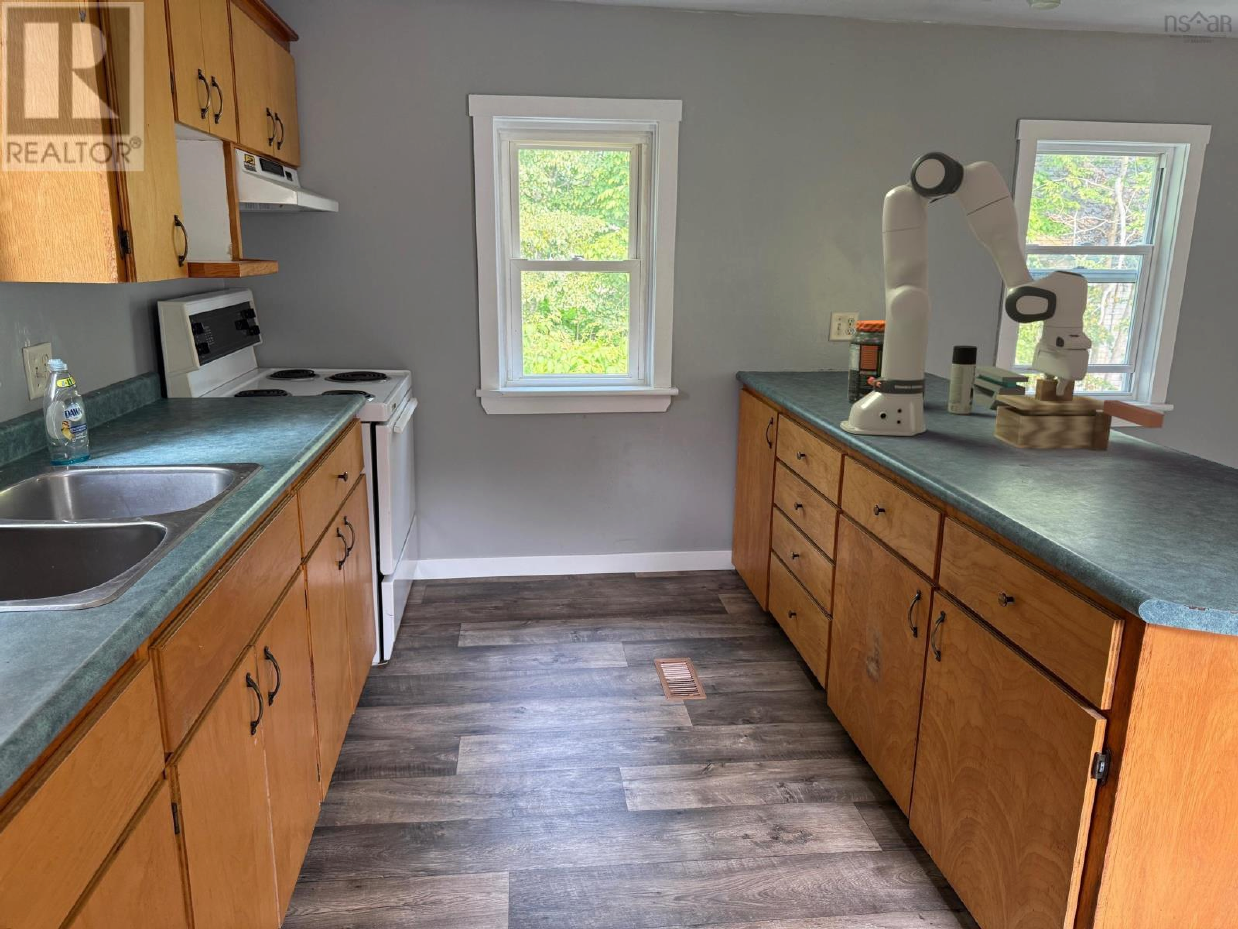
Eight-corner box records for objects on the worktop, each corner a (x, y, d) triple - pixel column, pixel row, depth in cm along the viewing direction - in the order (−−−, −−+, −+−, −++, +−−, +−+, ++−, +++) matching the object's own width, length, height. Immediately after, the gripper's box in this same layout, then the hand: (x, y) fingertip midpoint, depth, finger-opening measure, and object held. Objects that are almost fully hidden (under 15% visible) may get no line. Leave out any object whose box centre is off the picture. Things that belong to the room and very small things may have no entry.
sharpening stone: (1024, 413, 255) (1028, 377, 252) (998, 413, 255) (1002, 377, 252) (990, 399, 279) (993, 366, 276) (966, 399, 279) (969, 366, 276)
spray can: (973, 415, 252) (980, 347, 247) (949, 414, 253) (955, 347, 248) (969, 411, 258) (975, 345, 253) (945, 410, 259) (951, 344, 254)
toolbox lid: (1020, 415, 207) (1024, 384, 205) (995, 405, 221) (998, 375, 219) (1112, 416, 207) (1117, 384, 205) (1081, 405, 221) (1085, 376, 219)
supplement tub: (891, 398, 281) (897, 319, 274) (902, 406, 266) (908, 323, 259) (842, 397, 282) (847, 319, 276) (850, 406, 267) (855, 323, 261)
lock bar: (1148, 427, 185) (1150, 414, 185) (1102, 412, 203) (1104, 400, 202) (1161, 427, 185) (1163, 414, 185) (1115, 412, 203) (1117, 400, 202)
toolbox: (1022, 450, 207) (1027, 413, 204) (990, 434, 225) (994, 400, 222) (1113, 450, 207) (1118, 412, 204) (1073, 434, 225) (1078, 399, 222)
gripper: (1029, 333, 219) (1022, 386, 223) (1069, 342, 199) (1061, 400, 203) (1053, 334, 219) (1046, 387, 223) (1096, 342, 199) (1088, 400, 203)
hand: (1054, 393), depth 213 cm, fingers closed on toolbox lid, 3 cm apart
